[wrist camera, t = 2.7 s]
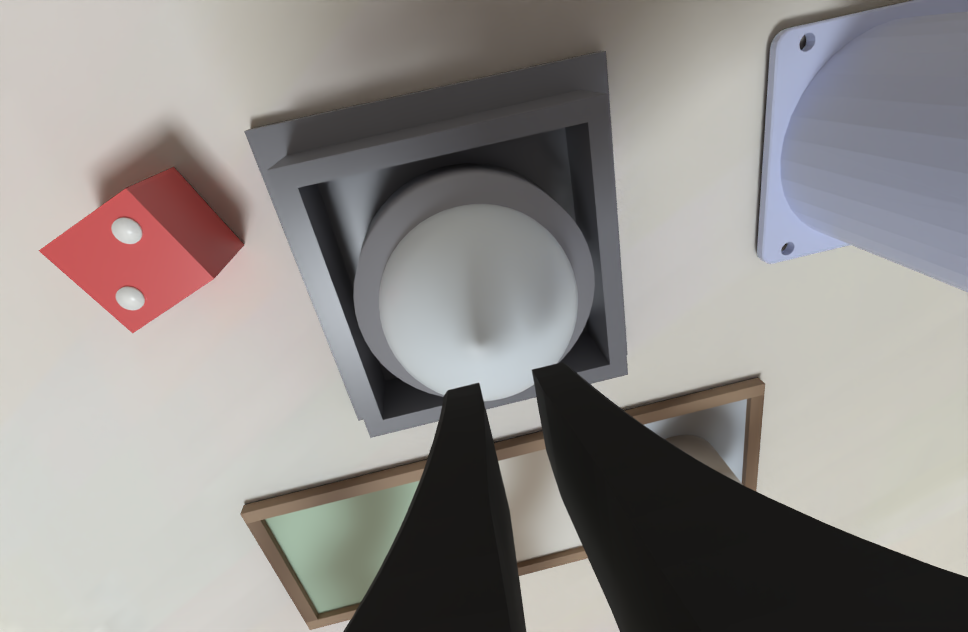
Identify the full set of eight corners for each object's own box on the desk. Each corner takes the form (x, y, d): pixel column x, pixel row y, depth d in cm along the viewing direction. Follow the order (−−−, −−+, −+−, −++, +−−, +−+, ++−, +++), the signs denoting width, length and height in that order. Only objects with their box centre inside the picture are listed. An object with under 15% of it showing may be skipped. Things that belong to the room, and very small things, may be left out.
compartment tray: (758, 377, 23) (765, 383, 22) (748, 507, 26) (754, 515, 26) (243, 505, 22) (240, 514, 21) (311, 620, 26) (310, 630, 25)
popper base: (599, 51, 16) (638, 49, 13) (621, 347, 21) (653, 388, 18) (250, 128, 15) (217, 142, 13) (359, 411, 20) (352, 463, 18)
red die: (173, 166, 16) (123, 188, 13) (244, 244, 17) (213, 279, 14) (99, 219, 16) (37, 251, 13) (174, 291, 17) (131, 334, 15)
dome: (555, 136, 15) (626, 171, 10) (579, 331, 19) (642, 428, 14) (330, 187, 15) (295, 248, 10) (394, 376, 18) (390, 491, 13)
